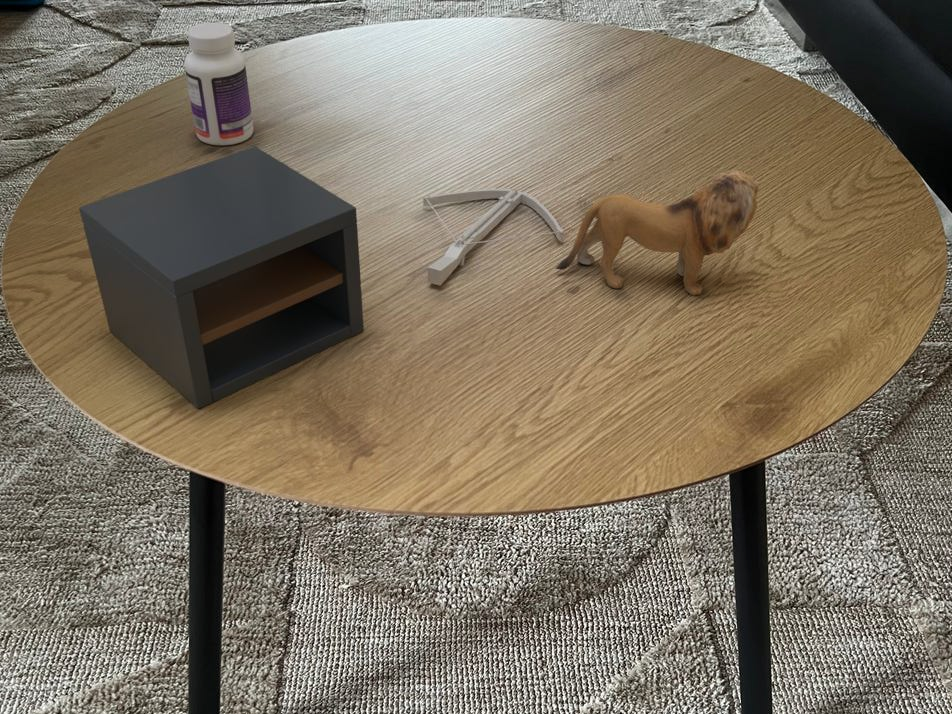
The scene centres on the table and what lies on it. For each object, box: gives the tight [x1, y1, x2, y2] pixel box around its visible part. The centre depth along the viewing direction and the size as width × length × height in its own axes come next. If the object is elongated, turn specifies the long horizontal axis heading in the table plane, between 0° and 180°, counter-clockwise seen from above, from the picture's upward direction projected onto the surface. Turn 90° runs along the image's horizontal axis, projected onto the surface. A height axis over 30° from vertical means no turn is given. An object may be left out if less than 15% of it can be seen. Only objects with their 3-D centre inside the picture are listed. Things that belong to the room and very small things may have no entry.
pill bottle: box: [183, 21, 255, 146], centre depth 100 cm, size 5×5×10 cm
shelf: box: [78, 146, 365, 410], centre depth 77 cm, size 12×14×10 cm
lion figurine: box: [555, 169, 760, 296], centre depth 83 cm, size 15×5×9 cm, turn 89°
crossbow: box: [422, 188, 565, 286], centre depth 89 cm, size 16×13×2 cm
